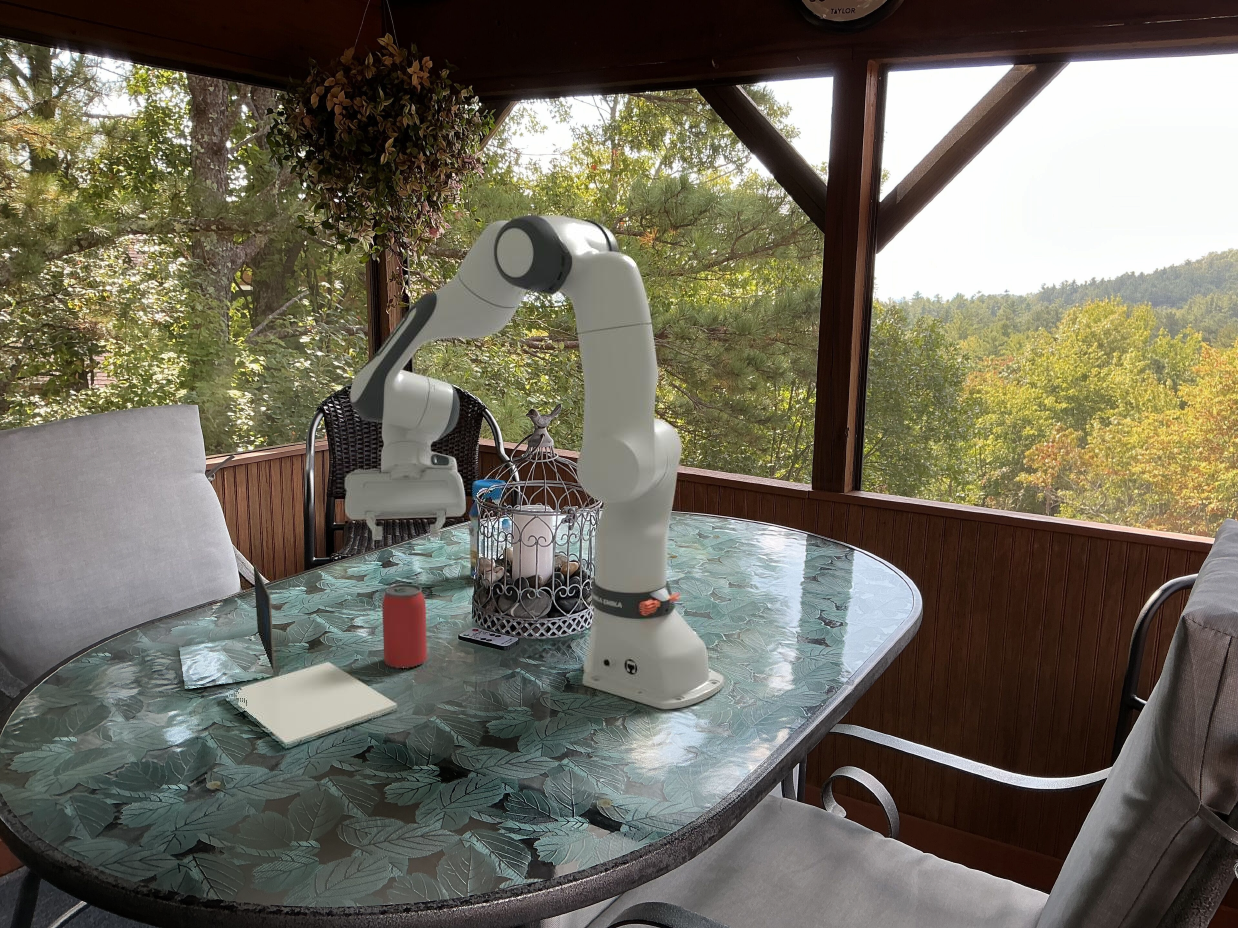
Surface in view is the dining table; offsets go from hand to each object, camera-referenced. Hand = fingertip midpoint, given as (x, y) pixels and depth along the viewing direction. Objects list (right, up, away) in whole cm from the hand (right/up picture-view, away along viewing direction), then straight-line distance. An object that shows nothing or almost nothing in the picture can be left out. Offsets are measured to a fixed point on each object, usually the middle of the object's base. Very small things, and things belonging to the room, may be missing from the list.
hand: (405, 537), depth 151 cm
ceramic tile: (-8, -22, -24) cm, 33 cm away
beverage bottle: (+9, -11, +34) cm, 37 cm away
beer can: (+2, -19, -9) cm, 21 cm away
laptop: (-26, -19, -10) cm, 34 cm away
